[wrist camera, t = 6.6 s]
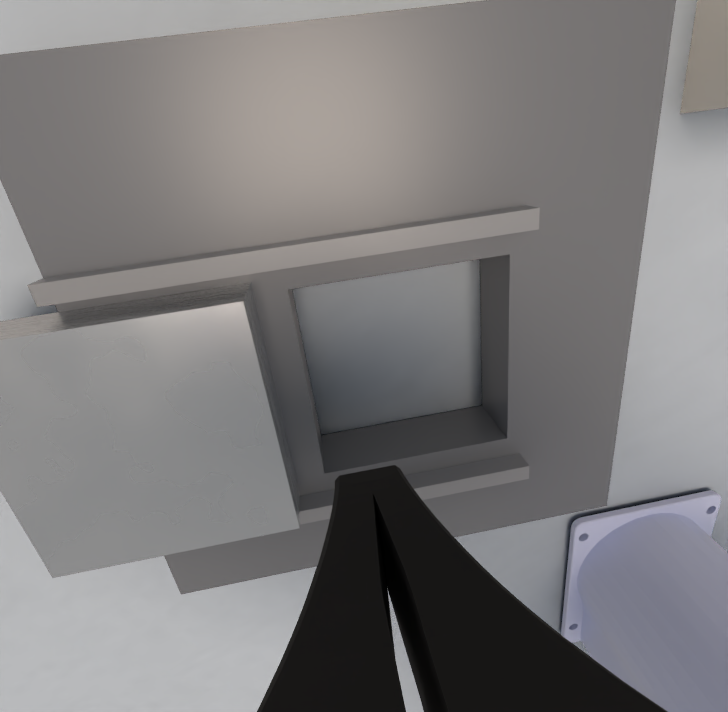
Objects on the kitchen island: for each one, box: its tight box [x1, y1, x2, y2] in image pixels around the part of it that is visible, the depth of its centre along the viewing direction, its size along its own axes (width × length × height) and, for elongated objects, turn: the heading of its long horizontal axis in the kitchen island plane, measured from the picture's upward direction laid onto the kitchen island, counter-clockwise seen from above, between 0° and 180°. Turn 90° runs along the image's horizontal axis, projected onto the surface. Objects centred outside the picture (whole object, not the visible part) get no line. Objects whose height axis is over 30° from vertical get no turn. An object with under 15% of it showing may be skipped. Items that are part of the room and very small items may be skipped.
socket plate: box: [0, 0, 676, 594], centre depth 15 cm, size 18×18×3 cm
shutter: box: [0, 282, 300, 578], centre depth 13 cm, size 8×8×2 cm
